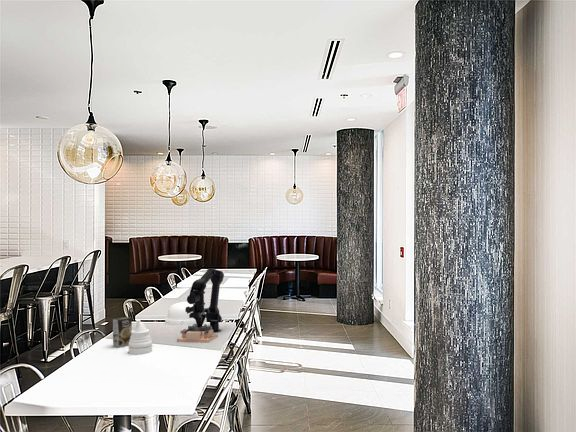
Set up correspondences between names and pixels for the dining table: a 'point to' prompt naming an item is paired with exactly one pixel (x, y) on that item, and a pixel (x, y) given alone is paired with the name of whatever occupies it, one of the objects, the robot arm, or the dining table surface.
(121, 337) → the coffee box
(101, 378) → the dining table surface
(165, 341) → the dining table surface
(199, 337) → the display stand
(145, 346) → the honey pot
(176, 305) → the dome cover
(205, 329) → the glasses frame
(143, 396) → the dining table surface
